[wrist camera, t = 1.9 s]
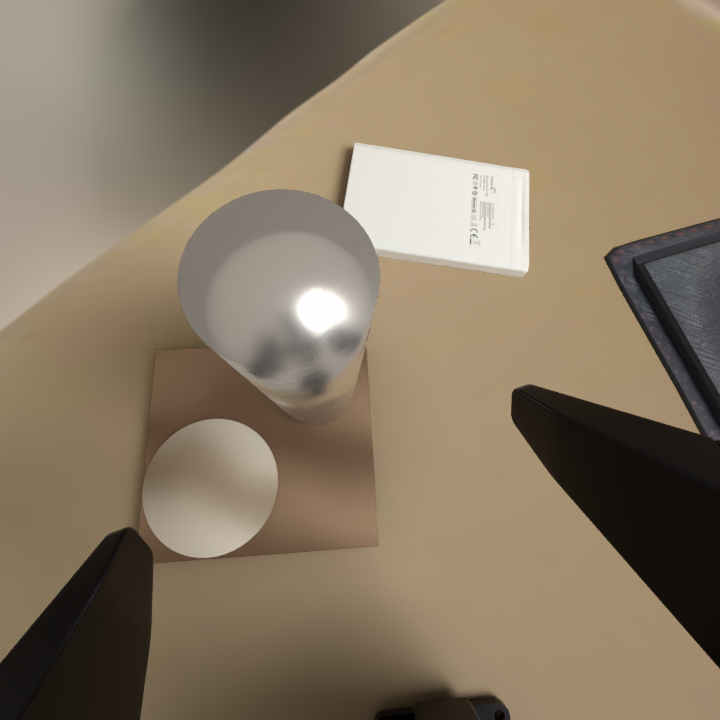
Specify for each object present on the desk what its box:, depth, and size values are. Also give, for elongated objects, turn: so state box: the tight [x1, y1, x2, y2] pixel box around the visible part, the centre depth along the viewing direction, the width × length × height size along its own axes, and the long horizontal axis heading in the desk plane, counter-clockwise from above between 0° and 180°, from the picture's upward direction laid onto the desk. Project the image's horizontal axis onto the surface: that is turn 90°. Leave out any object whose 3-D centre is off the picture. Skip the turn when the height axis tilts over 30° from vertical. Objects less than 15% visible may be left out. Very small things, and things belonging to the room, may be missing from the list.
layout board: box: [138, 347, 379, 563], centre depth 20 cm, size 11×12×1 cm
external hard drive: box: [343, 143, 529, 278], centre depth 25 cm, size 2×8×12 cm
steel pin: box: [178, 189, 380, 425], centre depth 14 cm, size 4×4×13 cm
